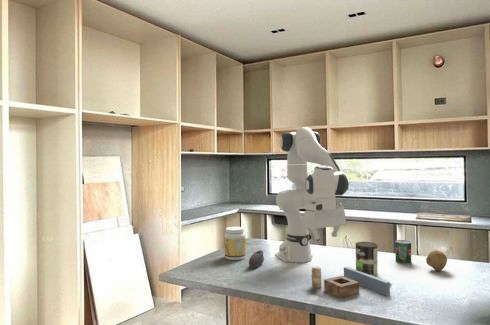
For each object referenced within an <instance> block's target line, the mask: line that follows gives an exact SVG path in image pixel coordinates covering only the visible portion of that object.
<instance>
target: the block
mask: <svg viewBox="0 0 490 325" xmlns="http://www.w3.org/2000/svg"><path fill="white" fill-rule="evenodd" d="M323 283H324V284H323V286H324V288H323V289H324V291H325V292H328V293H330V294H332V295H334V296H335V297H338V298H339V299H342V298H346V297H347V298H348V297H351V296H353V295H354V296H355V295H359V294H360V284H359V282H357V281H354V280H352V279H349V278H347V277H344V275H339V276H334V277H331V278H325V279H323Z"/></svg>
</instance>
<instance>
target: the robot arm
mask: <svg viewBox="0 0 490 325" xmlns="http://www.w3.org/2000/svg"><path fill="white" fill-rule="evenodd" d="M321 140H322V139H321V135H320V133H319V132H317V131H313V130H312V129H311V128H309V127H306V126H305V127H304V126H303V127H300V128H298V129H297V130H296V131H285V132H282V134H281V135H280V137H279V147H280V149H281V150H282V151H283V152H287V160H286V163H287V165H286V167H287V169H286V170H287V171H286V172H287V173H286V174H287V180H289V181H290V183H293V184H294V186H295V189H286V190H282V191H279V192H278V193H277V194H276V197H275V202H276V205H277V207H278V208H279V209H281V211H283V213H284V214H285V218H286V221H287V233H286V234H285V236H286V239H285V241H283V242H282V243H281V244H280V245H279V248H278V249H279V250H278V251H277V252H276V253H275V252H274V253H275V254H274V256H276V257H277V258H279V259H281V260H282V262H285V263H306V262H307V263H308V262H310V261H312V258H313V254H312V252H311V251H312V249H311V243H310V234H309V230H311V232H312V234H313V236H314V240H321V239H320V238H321V234H318V229H323V228H331V227H332V228H333V231H331V237H332V238H337V237H338V232H339V229H340V226H345V225H346V224H347V223H346V222H347V219H346V213H345V205H343V204H342V203H339V202H338V203H337V202H336V200H337V199H336V196H338V197H339V196H340V197H341V196H343V195H344V194H345V193H346V192H347V191H348V190H349V188H350V187H349V184H350V183H349V179H348V177H347V176H346V174H344V173H343V171H342V170H341V168H340V167H339V165H338V163H337V162H336V161H335V158H334V157H333V155H332V154H331V153H330V152H329V151H328V150H327V149H325V148H324V147H322V145H321V142H322V141H321ZM308 163H311V164H316V165H317V166H315V167H314V168H313V173H311V174H309V175H308ZM300 210H305V211H304V212H303V215H302V214H301V211H300Z"/></svg>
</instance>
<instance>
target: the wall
mask: <svg viewBox="0 0 490 325" xmlns="http://www.w3.org/2000/svg"><path fill="white" fill-rule="evenodd" d="M343 276H344V277H347V278H349V279H352V280H354V281H357V282H359V286H363V287H365V288H367V289H370V290H372V291H375V292H378V293H380V294H382V295H385V296H389V295H391V281H388V280H385V279H382V278H380V277H379V278H378V277H377V276H371V275H369V274H366V273H363V272H360V271H357V270H356V268H352V267H348V266H344V267H343Z"/></svg>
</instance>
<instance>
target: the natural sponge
mask: <svg viewBox="0 0 490 325" xmlns="http://www.w3.org/2000/svg"><path fill="white" fill-rule="evenodd" d="M425 262H426V264H427V265H428V266H429V267H431V268H432V269H433V270H435V271H437V272H441V271H442V270H444V269H445V267H446V265H447V263H448V257H447V255H446V254H445V253H444V252H442V251H440V250H436V249H435V250H432V251H430V252H428V254H427V257H426V259H425Z"/></svg>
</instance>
